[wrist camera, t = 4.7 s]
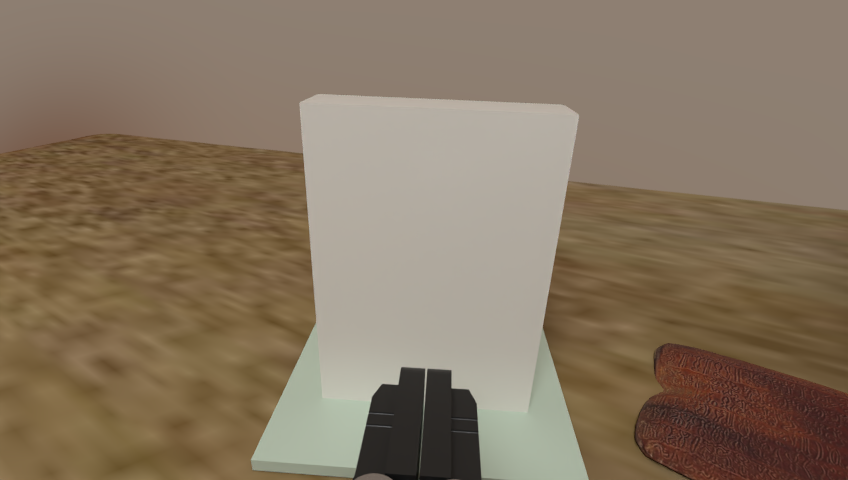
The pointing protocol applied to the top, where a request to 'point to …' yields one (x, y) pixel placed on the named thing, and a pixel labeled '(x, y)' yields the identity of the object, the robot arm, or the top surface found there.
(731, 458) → the wooden tablet
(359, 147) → the white rectangular block
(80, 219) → the top surface
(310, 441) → the cutting board
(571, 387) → the top surface
